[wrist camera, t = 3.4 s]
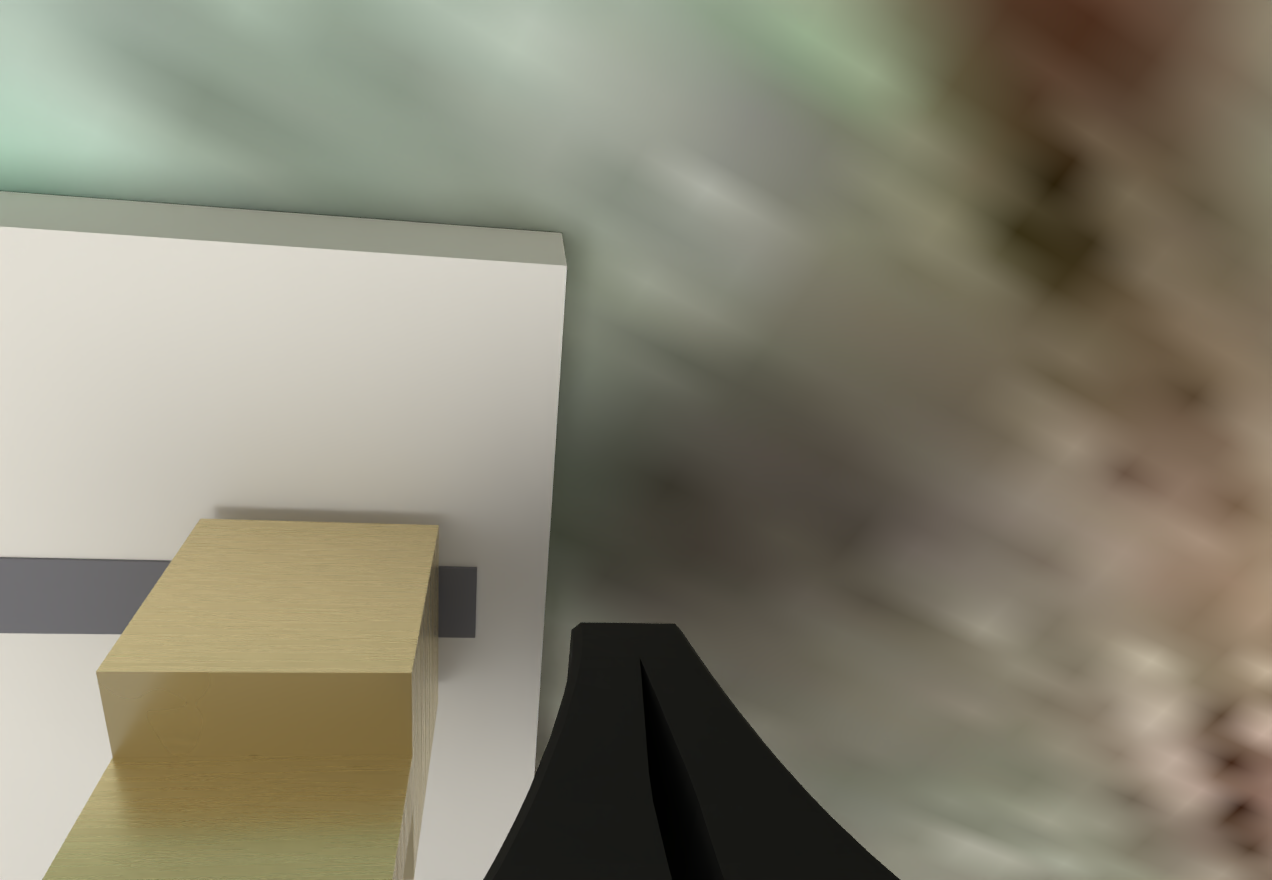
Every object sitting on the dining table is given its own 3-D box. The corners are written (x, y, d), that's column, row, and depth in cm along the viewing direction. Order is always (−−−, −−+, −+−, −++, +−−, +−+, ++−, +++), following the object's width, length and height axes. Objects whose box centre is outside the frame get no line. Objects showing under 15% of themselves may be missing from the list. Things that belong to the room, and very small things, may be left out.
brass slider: (438, 702, 13) (388, 1062, 8) (223, 702, 12) (49, 1080, 8) (439, 524, 12) (380, 834, 7) (200, 518, 11) (-20, 842, 7)
